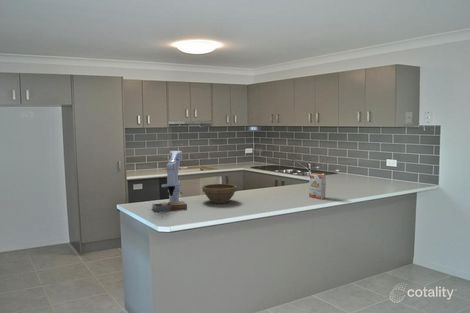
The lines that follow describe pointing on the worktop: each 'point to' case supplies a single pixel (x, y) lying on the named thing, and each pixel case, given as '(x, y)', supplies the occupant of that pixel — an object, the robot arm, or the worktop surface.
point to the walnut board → (178, 205)
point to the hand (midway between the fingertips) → (171, 195)
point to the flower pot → (219, 192)
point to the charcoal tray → (158, 207)
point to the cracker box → (317, 186)
